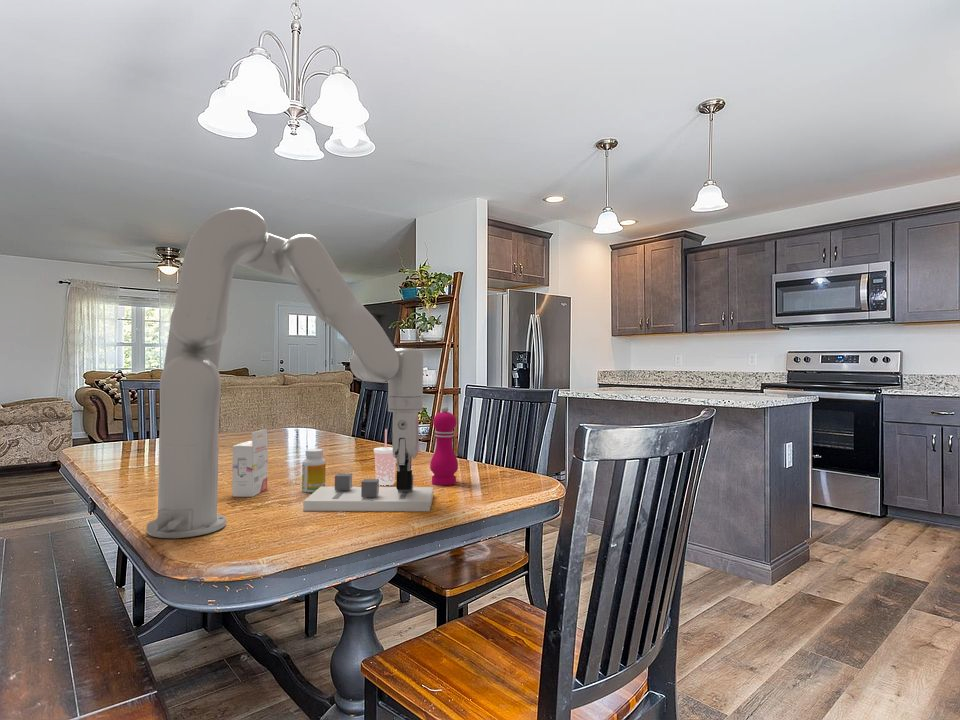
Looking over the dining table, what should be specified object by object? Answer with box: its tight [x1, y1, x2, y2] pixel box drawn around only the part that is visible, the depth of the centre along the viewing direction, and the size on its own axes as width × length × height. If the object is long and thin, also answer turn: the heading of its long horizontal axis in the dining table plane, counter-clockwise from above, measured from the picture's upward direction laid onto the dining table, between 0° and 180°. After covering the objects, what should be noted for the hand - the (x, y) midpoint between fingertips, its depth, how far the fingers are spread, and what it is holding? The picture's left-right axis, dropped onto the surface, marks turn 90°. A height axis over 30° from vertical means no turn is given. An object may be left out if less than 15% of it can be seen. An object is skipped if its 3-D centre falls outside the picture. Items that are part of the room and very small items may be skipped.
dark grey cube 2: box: [360, 478, 380, 497], centre depth 117 cm, size 3×3×3 cm
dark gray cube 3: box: [398, 474, 414, 492], centre depth 123 cm, size 3×3×3 cm
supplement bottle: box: [301, 448, 327, 493], centre depth 132 cm, size 5×5×10 cm
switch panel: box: [302, 486, 434, 512], centre depth 120 cm, size 14×26×2 cm, turn 92°
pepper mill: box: [429, 405, 459, 486], centre depth 142 cm, size 7×7×20 cm
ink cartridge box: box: [231, 428, 269, 498], centre depth 128 cm, size 9×5×15 cm, turn 179°
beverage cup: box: [373, 428, 397, 487], centre depth 140 cm, size 6×6×14 cm
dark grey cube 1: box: [334, 472, 353, 491], centre depth 123 cm, size 3×3×3 cm
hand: (404, 488), depth 119 cm, fingers closed
